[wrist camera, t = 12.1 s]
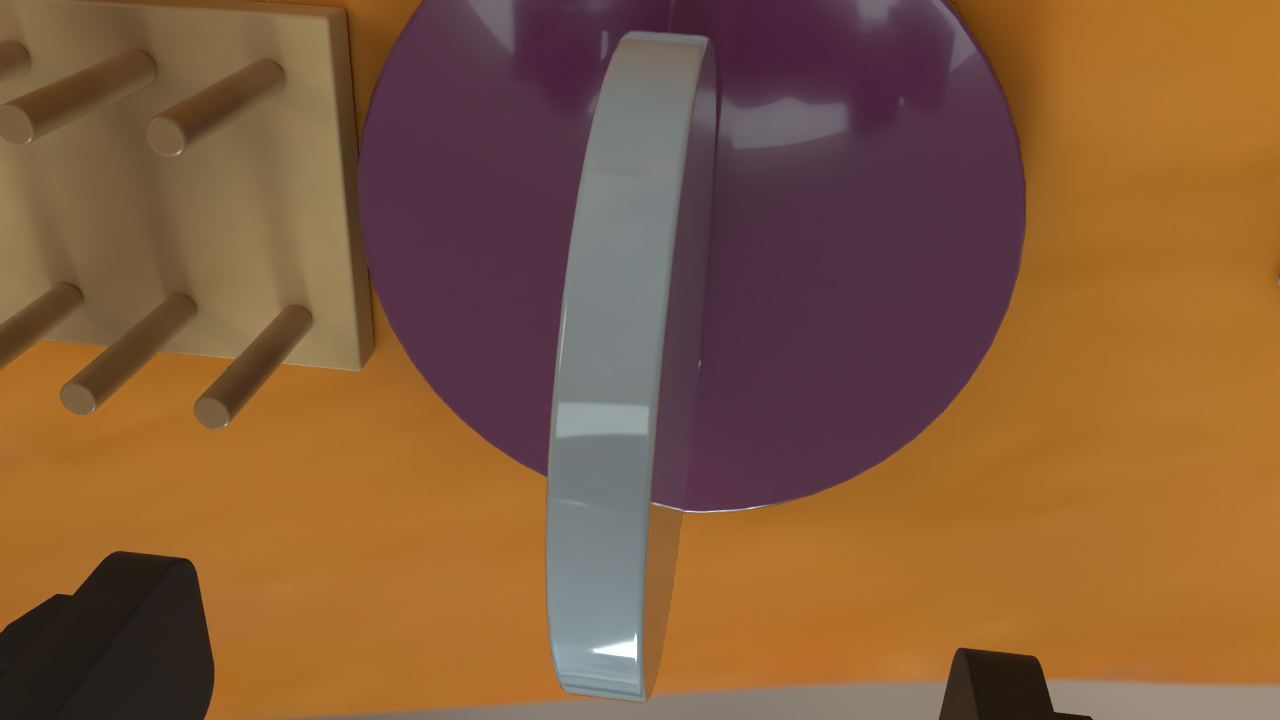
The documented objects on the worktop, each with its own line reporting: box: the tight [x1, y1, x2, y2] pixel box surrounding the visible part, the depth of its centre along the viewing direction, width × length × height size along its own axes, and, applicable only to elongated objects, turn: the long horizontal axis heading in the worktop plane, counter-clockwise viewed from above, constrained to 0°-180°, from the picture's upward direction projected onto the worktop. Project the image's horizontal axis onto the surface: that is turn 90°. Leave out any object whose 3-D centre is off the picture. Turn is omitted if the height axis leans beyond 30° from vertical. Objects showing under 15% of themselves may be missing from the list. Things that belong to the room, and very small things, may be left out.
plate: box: [545, 30, 716, 703], centre depth 17 cm, size 1×10×10 cm, turn 177°
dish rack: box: [0, 0, 375, 429], centre depth 22 cm, size 10×8×5 cm
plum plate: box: [357, 0, 1026, 513], centre depth 22 cm, size 13×13×1 cm
